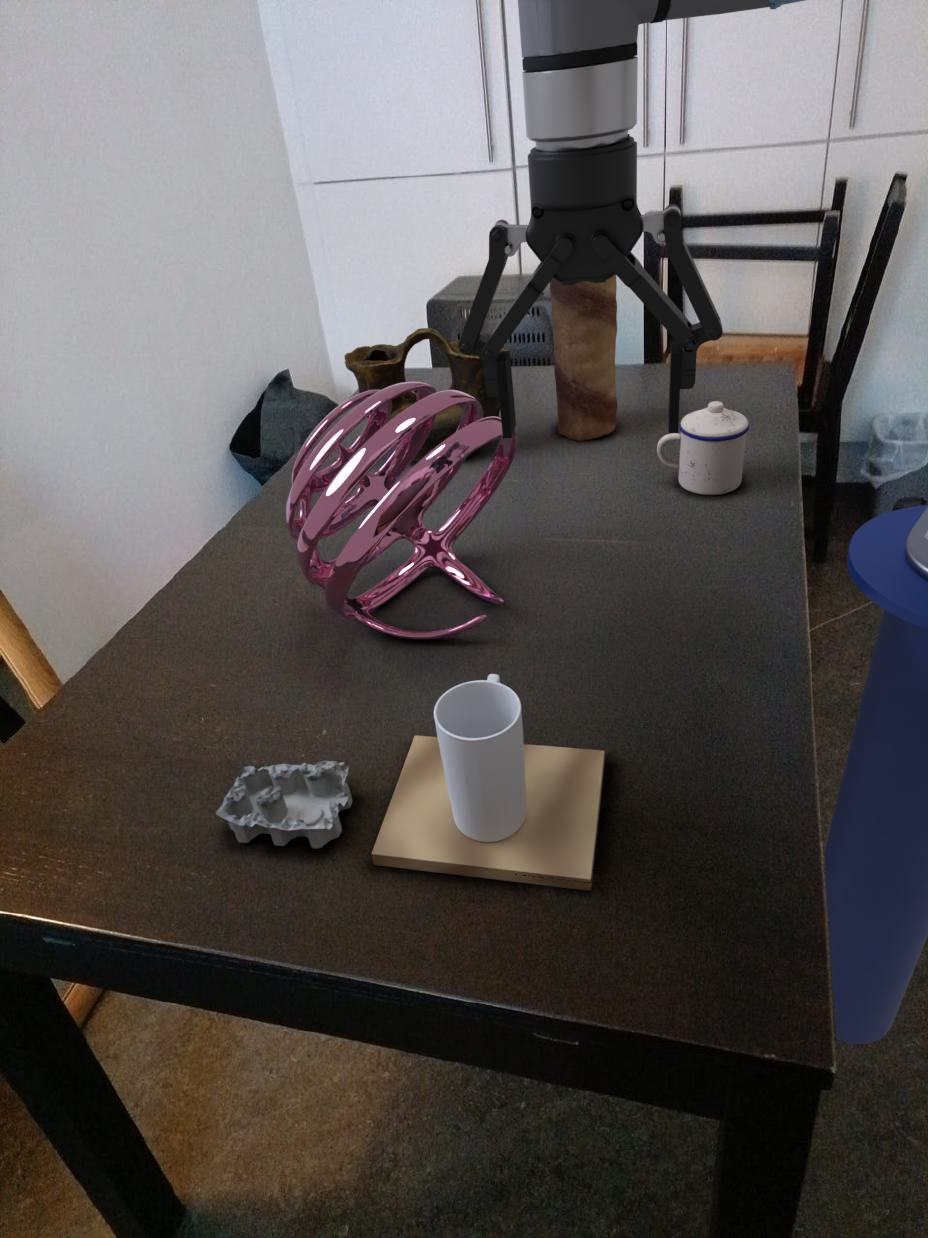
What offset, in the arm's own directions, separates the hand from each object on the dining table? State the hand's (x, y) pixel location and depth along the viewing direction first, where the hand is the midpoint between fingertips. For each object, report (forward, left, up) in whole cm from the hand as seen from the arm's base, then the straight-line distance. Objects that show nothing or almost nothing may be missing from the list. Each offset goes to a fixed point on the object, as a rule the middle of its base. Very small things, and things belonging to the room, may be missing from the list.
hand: (589, 429), depth 69 cm
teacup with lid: (-11, -44, -28) cm, 53 cm away
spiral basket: (+22, -12, -28) cm, 37 cm away
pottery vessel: (+30, -54, -28) cm, 68 cm away
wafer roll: (+7, -63, -28) cm, 70 cm away
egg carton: (+25, +22, -28) cm, 43 cm away
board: (+7, +19, -27) cm, 34 cm away
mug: (+7, +19, -26) cm, 33 cm away
